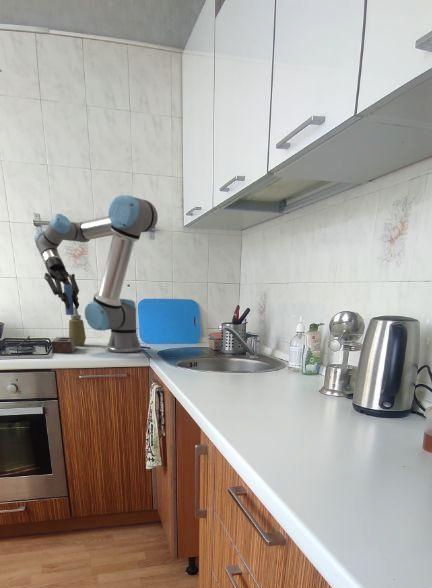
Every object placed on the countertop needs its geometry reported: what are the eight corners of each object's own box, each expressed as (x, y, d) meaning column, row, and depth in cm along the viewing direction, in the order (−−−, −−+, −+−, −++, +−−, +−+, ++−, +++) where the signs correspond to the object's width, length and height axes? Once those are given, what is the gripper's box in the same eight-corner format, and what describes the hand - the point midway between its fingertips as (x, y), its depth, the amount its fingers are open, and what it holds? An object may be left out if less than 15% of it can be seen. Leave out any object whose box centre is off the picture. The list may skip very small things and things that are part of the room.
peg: (74, 314, 204) (72, 285, 199) (73, 315, 201) (71, 285, 196) (66, 314, 203) (64, 284, 199) (65, 314, 200) (63, 284, 196)
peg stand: (76, 348, 222) (75, 337, 220) (72, 353, 208) (71, 341, 206) (57, 347, 221) (56, 337, 219) (52, 353, 207) (51, 341, 205)
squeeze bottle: (82, 346, 226) (79, 308, 220) (66, 345, 228) (63, 307, 221) (89, 344, 234) (86, 307, 227) (73, 343, 235) (70, 306, 228)
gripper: (69, 270, 211) (88, 312, 206) (33, 269, 201) (52, 313, 196) (74, 258, 205) (93, 300, 200) (36, 256, 195) (56, 300, 190)
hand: (73, 306), depth 198 cm, fingers closed on peg, 3 cm apart
